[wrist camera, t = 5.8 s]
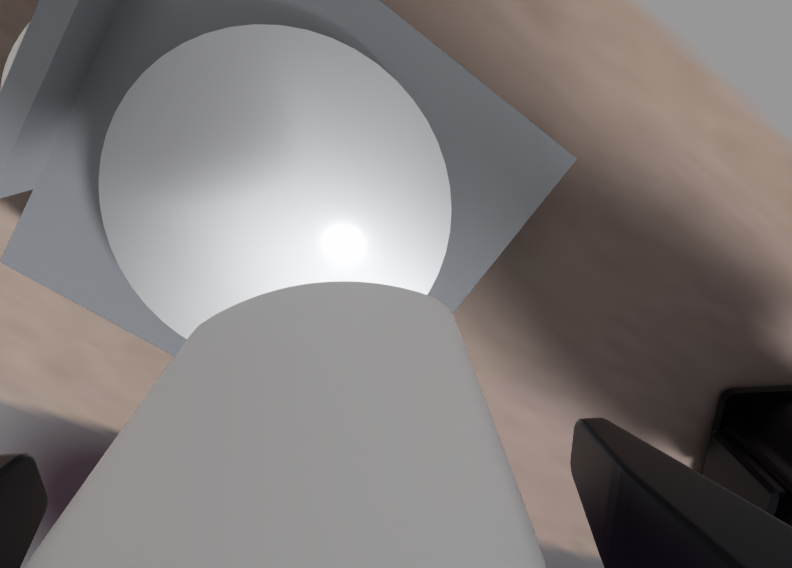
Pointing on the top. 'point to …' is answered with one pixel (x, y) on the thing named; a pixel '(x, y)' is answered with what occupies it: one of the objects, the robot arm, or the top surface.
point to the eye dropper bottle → (306, 448)
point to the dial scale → (253, 157)
